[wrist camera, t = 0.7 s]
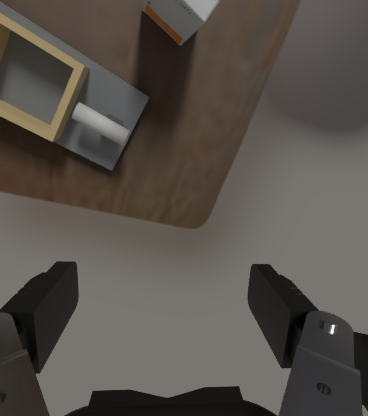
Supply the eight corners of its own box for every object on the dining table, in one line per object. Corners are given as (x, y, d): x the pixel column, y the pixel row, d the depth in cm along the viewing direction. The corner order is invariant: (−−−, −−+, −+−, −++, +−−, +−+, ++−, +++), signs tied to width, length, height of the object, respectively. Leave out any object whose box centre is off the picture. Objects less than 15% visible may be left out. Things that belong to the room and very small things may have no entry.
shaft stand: (-91, 66, 28) (-147, 59, 22) (-66, -41, 25) (-124, -80, 19) (112, 168, 36) (108, 181, 31) (148, 97, 33) (151, 97, 28)
